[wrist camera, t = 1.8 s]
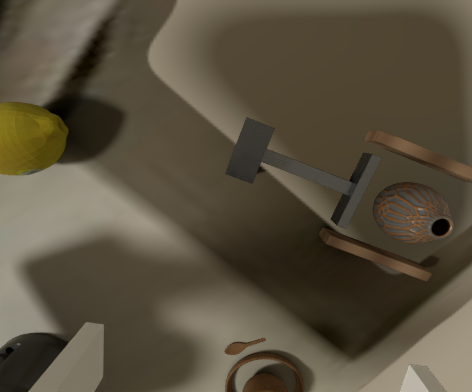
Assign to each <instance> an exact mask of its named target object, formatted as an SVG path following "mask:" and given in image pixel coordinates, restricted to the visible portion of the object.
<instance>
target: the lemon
mask: <svg viewBox="0 0 472 392" xmlns="http://www.w3.org/2000/svg"><path fill="white" fill-rule="evenodd" d="M67 135H68V128H67V127H66V126H65V124H64V122H63V121H62V120H61V118H60V117H59V116H58V115H55V114H52V113H50V112H49V111H48V110H46V109H44V108H42V107H40V106H37V105H33V104H27V103H20V102H5V103H0V174H4V175H30V174H33V173H36V172H39V171H42V170H44V169H46V168H48V167H50V166H51V165H53V164H54V163H55V162H56V161H57V160H58V159H59V158H60V157H61V155H62V153H63V151H64V149H65V147H66V137H67Z"/></svg>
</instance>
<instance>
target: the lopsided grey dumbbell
mask: <svg viewBox="0 0 472 392" xmlns="http://www.w3.org/2000/svg"><path fill="white" fill-rule="evenodd" d="M273 131H274V128H272V127H270V126H267V125H265V124H262V123H260V122H257V121H255V120H252V119H250V118H246V120H245V123H244V125H243V128H242V131H241V133H240V136H239V139H238V141H237V144H236V146H235V149H234V152H233V154H232V157H231V160H230V162H229V165H228V168H227V170H226V173H225V174H227V175H230V176H233V177H235V178H238V179H240V180H243V181H246V182H248V183H251V184H252V183H253V181H254V178H255V176H256V174H257V171H258V169H259V166H260V164H261V162H263V163H266V164H269V165H271V166H274V167H277V168H279V169H282V170H284V171H287V172H289V173H292V174H294V175H297V176H300V177H302V178H305V179H307V180H310V181H312V182H315V183H318V184H320V185H323V186H325V187H328V188H330V189H333V190H336V191H338V192H341V193H343V195H342V197H341V199H340V201H339V203H338V205H337V207H336V209H335V211H334V213H333V215H332V217H331V220H332V221H333V222H334V223H335V224H336V225H337V226H340V227H343V228H345V229H346V228H347V226H348V224H349V222H350V220H351V218H352V216H353V214H354V212H355V210H356V208H357V206H358V204H359V202H360V200H361V198H362V196H363V194H364V192H365V190H366V189H367V187H368V185H369V183H370V181H371V179H372V177H373V175H374V173H375V171H376V169H377V167H378V165H379V163H380V161H381V159H382V158H381V157H378V156H376V155H374V154H368V153H363V154H362V156H361V158H360V160H359V162H358V164H357V167H356V169H355V170H354V172H353V174H352V176H351V179H350V181H347V180H345V179H342V178H340V177H337V176H335V175H332V174H330V173H327V172H325V171H322V170H319V169H317V168H314V167H312V166H309V165H307V164H304V163H302V162H299V161H296V160H294V159H291V158H289V157H286V156H284V155H281V154H279V153H276V152H273V151H271V150H268V149H267V146H268V143H269V141H270V139H271V136H272V134H273Z"/></svg>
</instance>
